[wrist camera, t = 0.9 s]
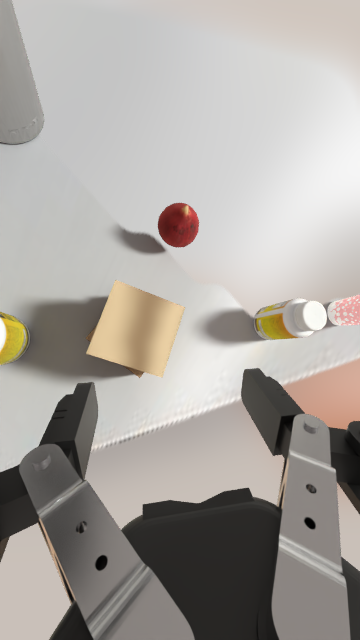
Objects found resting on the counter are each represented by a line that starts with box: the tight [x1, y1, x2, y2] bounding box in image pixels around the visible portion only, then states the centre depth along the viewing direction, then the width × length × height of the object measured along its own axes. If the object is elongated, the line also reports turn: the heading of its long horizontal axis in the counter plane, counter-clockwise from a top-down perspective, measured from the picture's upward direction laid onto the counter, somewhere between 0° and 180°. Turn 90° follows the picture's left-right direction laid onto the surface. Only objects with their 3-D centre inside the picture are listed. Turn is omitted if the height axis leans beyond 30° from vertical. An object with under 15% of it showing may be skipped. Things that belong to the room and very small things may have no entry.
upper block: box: [86, 280, 185, 377], centre depth 28 cm, size 8×8×5 cm
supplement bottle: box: [254, 298, 327, 340], centre depth 36 cm, size 6×6×10 cm
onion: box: [158, 203, 199, 247], centre depth 34 cm, size 6×6×8 cm
